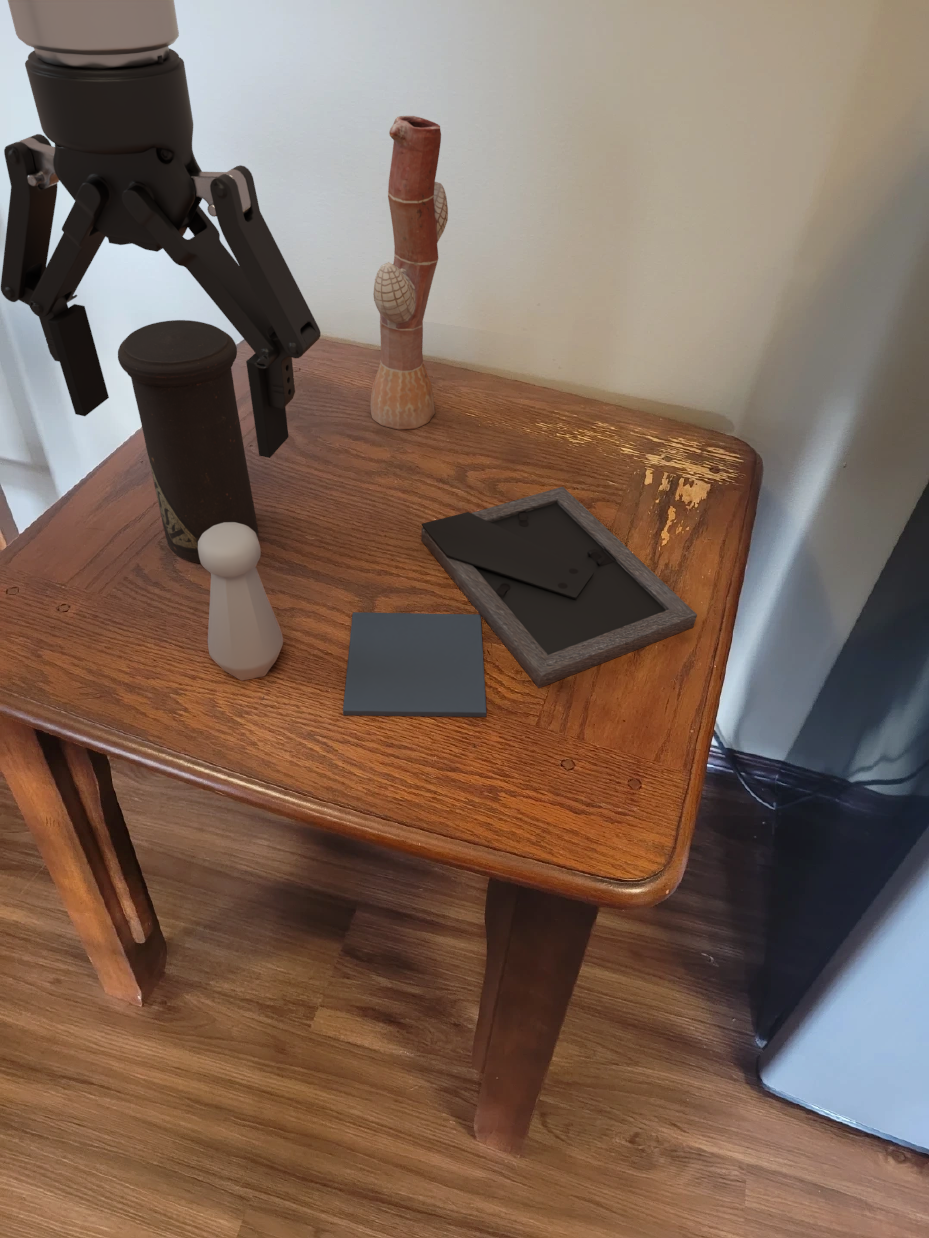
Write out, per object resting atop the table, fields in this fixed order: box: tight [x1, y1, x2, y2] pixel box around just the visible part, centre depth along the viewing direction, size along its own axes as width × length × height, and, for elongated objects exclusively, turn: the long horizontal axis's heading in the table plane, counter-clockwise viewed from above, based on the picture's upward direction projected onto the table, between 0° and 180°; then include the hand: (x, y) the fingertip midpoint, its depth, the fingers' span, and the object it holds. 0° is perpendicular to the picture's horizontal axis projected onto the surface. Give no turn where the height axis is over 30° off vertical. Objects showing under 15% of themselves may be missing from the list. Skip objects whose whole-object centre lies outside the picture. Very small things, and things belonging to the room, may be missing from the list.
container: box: [117, 319, 259, 564], centre depth 73 cm, size 9×9×20 cm
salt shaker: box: [198, 522, 284, 682], centre depth 64 cm, size 6×6×13 cm
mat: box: [342, 611, 487, 718], centre depth 69 cm, size 11×11×1 cm
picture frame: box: [420, 486, 698, 689], centre depth 77 cm, size 16×2×21 cm
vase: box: [369, 115, 449, 431], centre depth 88 cm, size 11×7×30 cm
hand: (181, 426), depth 57 cm, fingers open, 13 cm apart
